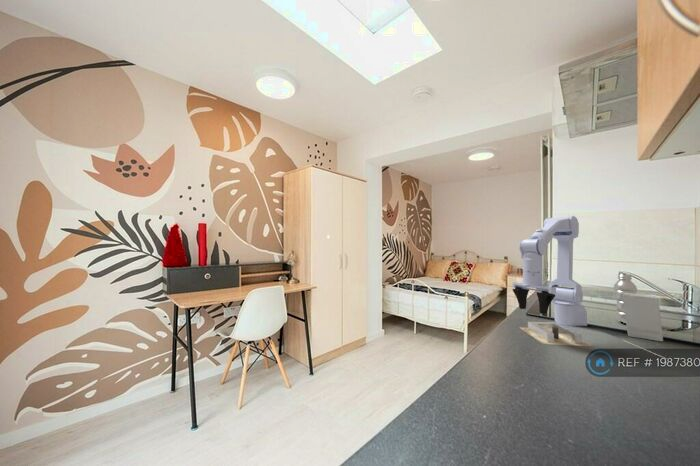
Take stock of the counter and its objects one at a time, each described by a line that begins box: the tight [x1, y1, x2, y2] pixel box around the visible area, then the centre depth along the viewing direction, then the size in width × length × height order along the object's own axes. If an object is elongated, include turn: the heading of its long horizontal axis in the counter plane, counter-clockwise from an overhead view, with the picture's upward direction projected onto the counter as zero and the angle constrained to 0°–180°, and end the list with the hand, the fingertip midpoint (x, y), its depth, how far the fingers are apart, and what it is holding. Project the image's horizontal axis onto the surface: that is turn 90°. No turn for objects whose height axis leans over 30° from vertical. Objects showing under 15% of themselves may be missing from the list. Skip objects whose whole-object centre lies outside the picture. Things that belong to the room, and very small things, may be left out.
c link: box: [527, 321, 583, 344], centre depth 88 cm, size 10×12×3 cm
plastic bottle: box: [613, 273, 638, 322], centre depth 102 cm, size 6×7×20 cm
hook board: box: [519, 327, 593, 347], centre depth 88 cm, size 14×16×5 cm
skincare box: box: [623, 293, 664, 342], centre depth 89 cm, size 8×6×15 cm
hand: (532, 311), depth 89 cm, fingers open, 7 cm apart
